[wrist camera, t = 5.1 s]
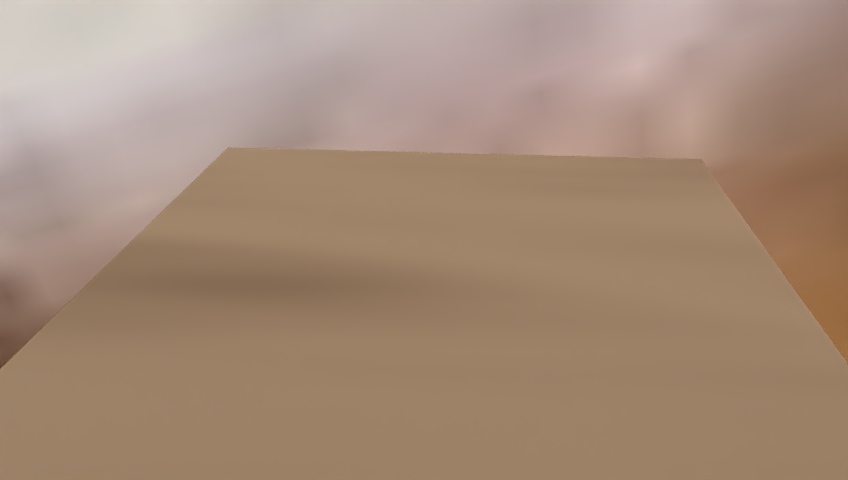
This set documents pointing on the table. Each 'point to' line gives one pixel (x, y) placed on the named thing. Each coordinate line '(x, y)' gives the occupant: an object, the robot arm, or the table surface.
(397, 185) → the ash cube
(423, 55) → the table surface
